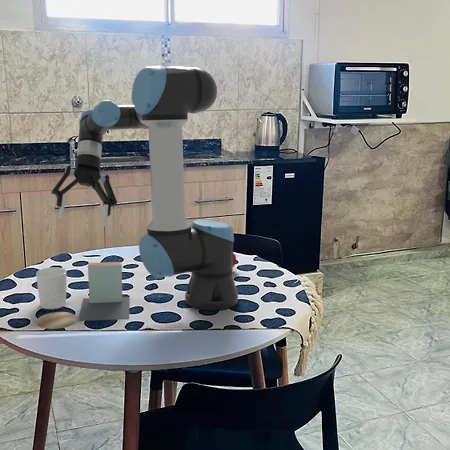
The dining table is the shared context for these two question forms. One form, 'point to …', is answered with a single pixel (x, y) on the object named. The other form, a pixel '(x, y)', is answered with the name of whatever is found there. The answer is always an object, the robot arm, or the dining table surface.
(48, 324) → the coaster
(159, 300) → the dining table surface
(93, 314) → the mat
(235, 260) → the onion
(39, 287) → the white cup
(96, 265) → the tile
